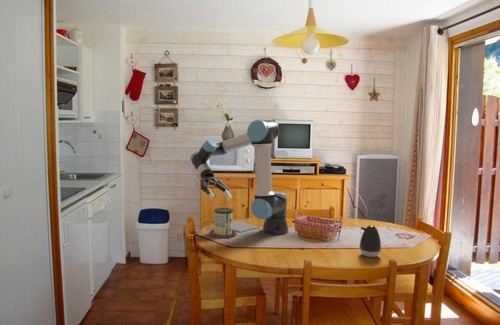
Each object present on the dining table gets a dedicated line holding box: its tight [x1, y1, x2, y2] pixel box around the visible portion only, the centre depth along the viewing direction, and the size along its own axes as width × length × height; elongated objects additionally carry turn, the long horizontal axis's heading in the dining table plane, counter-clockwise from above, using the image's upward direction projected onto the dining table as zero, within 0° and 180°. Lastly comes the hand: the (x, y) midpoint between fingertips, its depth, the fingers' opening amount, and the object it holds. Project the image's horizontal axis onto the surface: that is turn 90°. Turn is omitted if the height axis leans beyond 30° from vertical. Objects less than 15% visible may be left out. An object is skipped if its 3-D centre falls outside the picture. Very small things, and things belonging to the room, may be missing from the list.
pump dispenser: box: [359, 224, 382, 258], centre depth 194 cm, size 10×10×15 cm
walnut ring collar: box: [209, 228, 237, 239], centre depth 222 cm, size 14×14×2 cm
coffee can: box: [213, 207, 234, 235], centre depth 222 cm, size 10×10×14 cm
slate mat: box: [232, 221, 260, 233], centre depth 238 cm, size 16×16×1 cm
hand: (221, 198), depth 224 cm, fingers open, 13 cm apart
